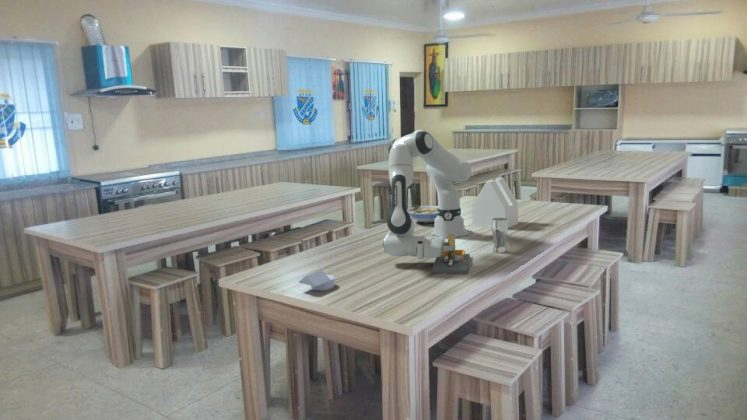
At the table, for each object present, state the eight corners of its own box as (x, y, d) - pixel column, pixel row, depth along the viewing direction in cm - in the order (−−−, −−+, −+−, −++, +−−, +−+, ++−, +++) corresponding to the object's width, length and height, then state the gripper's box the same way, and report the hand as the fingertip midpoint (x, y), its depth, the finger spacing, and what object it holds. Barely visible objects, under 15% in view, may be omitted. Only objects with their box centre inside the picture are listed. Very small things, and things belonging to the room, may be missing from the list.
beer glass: (496, 254, 243) (496, 221, 240) (489, 250, 249) (489, 218, 246) (510, 252, 245) (510, 219, 242) (503, 248, 251) (503, 216, 248)
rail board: (437, 256, 243) (437, 249, 243) (469, 257, 240) (469, 249, 239) (432, 273, 220) (431, 264, 220) (467, 274, 217) (467, 265, 217)
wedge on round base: (315, 295, 201) (339, 285, 211) (314, 277, 200) (338, 268, 210) (298, 290, 207) (322, 281, 217) (297, 273, 205) (321, 265, 215)
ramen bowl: (445, 227, 299) (445, 212, 297) (404, 227, 303) (403, 212, 302) (448, 217, 323) (448, 203, 321) (410, 217, 327) (409, 204, 326)
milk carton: (517, 224, 299) (518, 178, 294) (504, 229, 287) (504, 182, 282) (486, 220, 311) (486, 176, 306) (472, 225, 299) (472, 180, 295)
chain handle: (445, 258, 234) (444, 233, 231) (459, 258, 232) (459, 233, 230) (442, 266, 223) (442, 240, 220) (457, 266, 221) (457, 240, 219)
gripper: (424, 247, 243) (455, 247, 240) (418, 260, 223) (452, 260, 220) (423, 233, 241) (455, 233, 239) (417, 245, 222) (452, 245, 219)
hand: (453, 246), depth 229 cm, fingers closed on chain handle, 3 cm apart
